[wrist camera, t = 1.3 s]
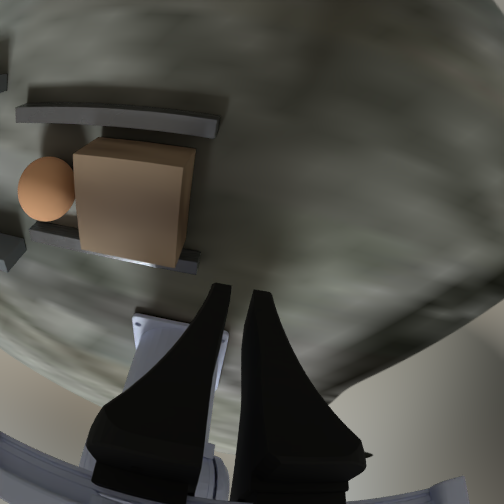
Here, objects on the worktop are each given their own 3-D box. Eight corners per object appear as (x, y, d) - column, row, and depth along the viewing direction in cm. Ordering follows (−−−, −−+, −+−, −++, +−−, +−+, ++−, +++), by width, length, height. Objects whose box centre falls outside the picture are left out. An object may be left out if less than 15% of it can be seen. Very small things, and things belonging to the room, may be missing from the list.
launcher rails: (199, 263, 22) (196, 274, 21) (39, 232, 21) (31, 240, 20) (220, 115, 16) (217, 120, 15) (26, 103, 15) (15, 107, 14)
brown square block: (186, 239, 20) (175, 268, 18) (100, 223, 20) (81, 249, 17) (196, 148, 17) (183, 167, 14) (98, 137, 16) (72, 153, 14)
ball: (89, 206, 19) (60, 238, 16) (43, 198, 19) (12, 228, 16) (86, 149, 17) (52, 175, 14) (38, 146, 17) (1, 169, 14)
